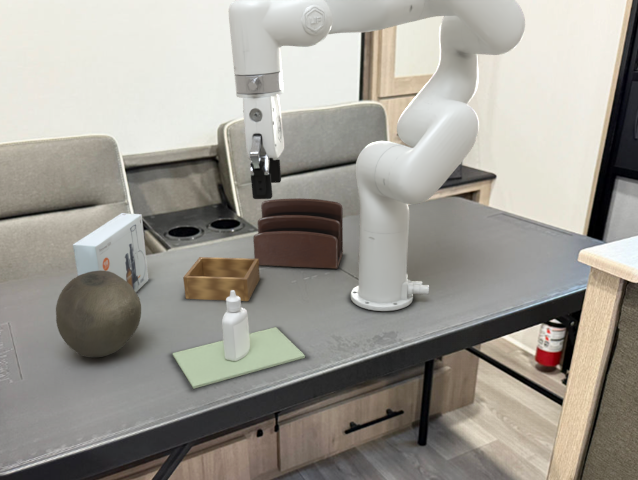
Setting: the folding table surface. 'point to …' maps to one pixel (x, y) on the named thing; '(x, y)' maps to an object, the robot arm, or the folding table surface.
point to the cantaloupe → (97, 313)
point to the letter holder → (300, 233)
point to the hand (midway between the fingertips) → (267, 190)
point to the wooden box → (221, 278)
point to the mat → (213, 367)
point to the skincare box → (115, 250)
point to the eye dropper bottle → (235, 329)
